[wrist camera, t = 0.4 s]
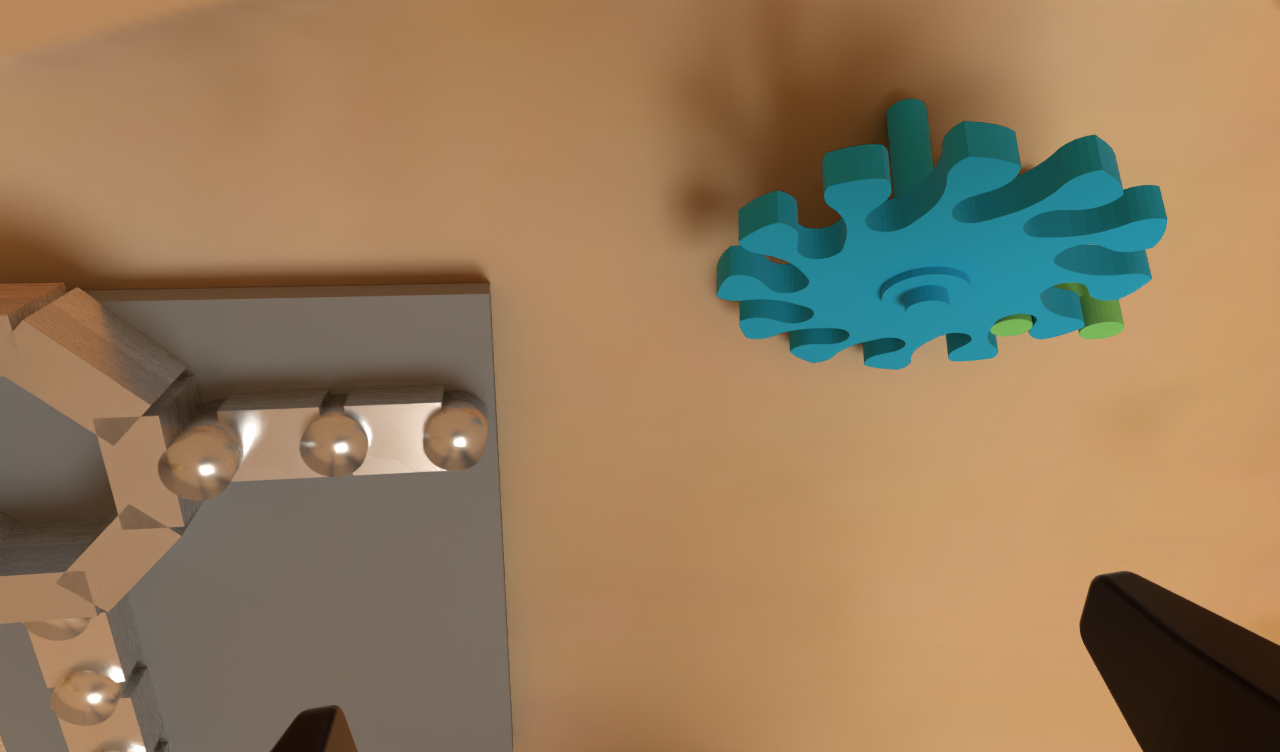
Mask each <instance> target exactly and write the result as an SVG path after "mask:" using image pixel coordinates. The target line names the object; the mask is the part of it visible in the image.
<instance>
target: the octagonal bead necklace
mask: <svg viewBox="0 0 1280 752" xmlns="http://www.w3.org/2000/svg"><path fill="white" fill-rule="evenodd" d="M188 366H189V365H188V364H186V363H185V362H183V361H182V360H180V359H179V358H178V357H176V356H175V355H173V354H172V353H171V352H169V351H168V350H166V349H165V348H163V347H162V346H161V345H159V344H158V343H156V342H155V341H153V340H152V339H151V338H149V337H148V336H146V335H145V334H144V333H142V332H141V331H139V330H138V329H136V328H135V327H134V326H132V325H131V324H129V323H128V322H126V321H125V320H124V319H122V318H121V317H119V316H118V315H117V314H115V313H114V312H112V311H111V310H109V309H108V308H107V307H105V306H104V305H102V304H101V303H99V302H98V301H97V300H95V299H94V298H92V297H91V296H90V295H88V294H87V293H85V292H84V291H82V290H81V289H80V288H78V287H76V288H75V289H73V290H71V291H70V292H68V293H67V292H66V288H65V285H64V283H17V284H0V377H1V376H5V377H6V378H8V379H9V380H11V381H12V382H14V383H16V384H17V385H19V386H20V387H22V388H23V389H25V390H27V391H28V392H30V393H31V394H33V395H34V396H36V397H38V398H39V399H41V400H42V401H44V402H45V403H47V404H49V405H50V406H52V407H53V408H55V409H56V410H58V411H60V412H61V413H63V414H64V415H66V416H67V417H69V418H71V419H72V420H74V421H75V422H77V423H78V424H80V425H82V426H83V427H85V428H86V429H88V430H89V431H91V432H93V433H94V434H96V435H97V438H98V441H99V445H100V449H101V453H102V456H103V460H104V464H105V467H106V471H107V475H108V478H109V482H110V486H111V490H112V493H113V497H114V501H115V504H116V508H117V510H116V511H115V512H114V513H113V514H112V516H111V517H110V518H97V519H80V520H62V521H44V522H26V523H22V522H20V521H18V520H16V519H15V518H13V517H11V516H9V515H8V514H6V513H4V512H2V511H1V510H0V624H5V623H19V622H22V623H23V625H24V626H25V627H26V628H27V630H28V633H29V636H30V639H31V642H32V645H33V648H34V651H35V653H36V656H37V659H38V662H39V665H40V668H41V671H42V674H43V677H44V680H45V683H46V685H47V688H53V687H56V688H55V690H54V691H53V693H52V694H51V697H50V706H51V708H52V710H53V712H54V713H55V714H56V715H57V717H58V720H59V723H60V726H61V729H62V732H63V735H64V738H65V741H66V743H67V746H68V749H69V752H171V750H170V746H169V742H165V743H160V736H161V734H162V732H163V730H164V724H163V721H162V717H161V713H160V710H159V706H158V703H157V699H156V695H155V692H154V688H153V685H152V681H151V677H150V674H149V670H148V667H144V668H138V666H139V662H138V659H139V658H140V656H141V654H142V653H143V649H142V645H141V641H140V638H139V634H138V631H137V627H136V623H135V620H134V616H133V613H132V609H131V605H130V602H129V598H128V594H127V592H128V591H129V590H130V589H131V588H132V587H133V586H134V585H135V584H136V583H137V582H138V581H139V580H140V579H141V578H142V577H143V576H144V575H145V574H146V573H147V572H148V571H149V570H150V569H151V567H152V566H153V565H154V564H155V563H156V562H157V561H158V560H159V559H160V558H161V557H162V556H163V555H164V554H165V553H166V552H167V551H168V550H169V549H170V548H171V547H172V546H173V545H174V544H175V543H176V542H177V541H178V539H179V538H180V537H181V536H182V535H183V533H184V532H185V530H186V529H187V527H188V526H189V524H190V522H191V521H192V519H193V518H194V516H195V515H196V513H197V512H198V510H199V508H200V507H201V505H202V504H203V502H204V501H205V500H209V499H212V498H215V497H217V496H218V495H220V494H221V493H222V492H224V491H225V489H226V488H227V487H228V485H229V483H230V482H236V481H256V480H275V479H295V478H314V477H342V476H346V475H349V474H351V473H353V475H373V474H392V473H411V472H431V471H447V470H448V471H461V470H465V469H468V468H470V467H472V466H474V465H476V464H477V463H478V462H479V461H480V460H481V458H482V457H483V455H484V453H485V450H486V443H487V425H488V412H487V409H486V406H485V404H484V403H483V402H482V400H481V399H480V398H479V397H477V396H476V395H474V394H472V393H470V392H467V391H463V390H452V391H448V392H445V384H424V385H397V386H369V387H352V388H351V391H350V393H349V395H345V394H340V395H334V396H331V397H330V395H329V388H314V389H287V390H259V391H232V392H231V394H230V395H229V396H228V398H227V399H216V400H212V401H209V402H207V403H205V404H204V405H202V403H201V399H200V394H199V389H198V384H197V380H196V375H181V373H182V372H183V371H184V370H185V369H186V368H187V367H188Z"/></svg>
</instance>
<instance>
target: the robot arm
mask: <svg viewBox="0 0 1280 752" xmlns="http://www.w3.org/2000/svg"><path fill="white" fill-rule="evenodd" d="M1080 634H1081V637H1082V640H1083V643H1084V645H1085V647H1086V649H1087V651H1088V652H1089V654H1090V656H1091V658H1092V660H1093V662H1094V663H1095V665H1096V667H1097V669H1098V671H1099V672H1100V674H1101V676H1102V678H1103V680H1104V682H1105V683H1106V685H1107V687H1108V689H1109V691H1110V693H1111V694H1112V696H1113V698H1114V700H1115V702H1116V704H1117V705H1118V707H1119V709H1120V711H1121V713H1122V715H1123V716H1124V718H1125V720H1126V722H1127V724H1128V726H1129V727H1130V729H1131V731H1132V733H1133V735H1134V736H1135V738H1136V740H1137V742H1138V744H1139V745H1140V747H1141V749H1142V750H1143V752H1280V645H1278V644H1276V643H1274V642H1272V641H1270V640H1268V639H1266V638H1264V637H1261V636H1259V635H1257V634H1255V633H1253V632H1251V631H1249V630H1247V629H1245V628H1243V627H1241V626H1239V625H1237V624H1235V623H1233V622H1231V621H1229V620H1227V619H1225V618H1223V617H1221V616H1219V615H1217V614H1215V613H1213V612H1211V611H1209V610H1207V609H1205V608H1203V607H1201V606H1199V605H1197V604H1195V603H1193V602H1191V601H1189V600H1187V599H1185V598H1183V597H1181V596H1179V595H1177V594H1175V593H1173V592H1171V591H1169V590H1167V589H1165V588H1163V587H1161V586H1159V585H1157V584H1155V583H1153V582H1151V581H1149V580H1147V579H1145V578H1143V577H1141V576H1139V575H1137V574H1135V573H1132V572H1128V571H1120V572H1114V573H1108V574H1102V575H1098V576H1096V577H1095V578H1094V579H1093V580H1092V581H1091V584H1090V586H1089V590H1088V594H1087V597H1086V601H1085V604H1084V608H1083V612H1082V615H1081V619H1080ZM270 752H358V751H357V747H356V745H355V742H354V739H353V737H352V734H351V731H350V728H349V726H348V723H347V720H346V717H345V715H344V712H343V710H342V709H341V708H340V707H339V706H337V705H329V706H323V707H317V708H311V709H307V710H304V711H302V712H301V713H299V714H298V715H297V716H296V717H295V719H294V720H293V721H292V723H291V724H290V725H289V727H288V728H287V729H286V731H285V732H284V733H283V735H282V736H281V737H280V739H279V740H278V741H277V743H276V744H275V745H274V747H273V748H272V749H271V751H270Z"/></svg>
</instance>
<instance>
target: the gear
mask: <svg viewBox="0 0 1280 752" xmlns="http://www.w3.org/2000/svg"><path fill="white" fill-rule="evenodd" d="M886 118H887V128H888V139H889V149H890V159H891V170H892V180H893V191H894V199H889V200H887V199H888V197H889V196H890V194H891V191H892V189H891V178H890V168H889V157H888V151H887V149H886V148H885V147H884V146H883V145H882V144H868V145H859V146H853V147H848V148H843V149H839V150H835V151H831V152H827V153H826V154H825V155H824V157H823V160H822V173H823V191H824V199H825V202H826V203H827V204H828V205H829V206H830V207H831V208H833V209H834V210H836V211H837V212H838V213H839V214H840V215H841V219H840V220H839V221H838V222H837V223H835V224H834V225H831V226H829V227H825V228H820V229H812V228H806V227H803V226H801V225H800V224H799V223H798V209H797V202H796V200H795V198H794V197H793V196H791V195H790V194H788V193H785V192H782V191H774V192H770V193H767V194H765V195H763V196H760V197H758V198H756V199H755V200H753V201H751V202H750V203H748V204H747V205H745V206H744V207H742V208H741V209H740V210H738V212H739V243H740V245H741V246H730V247H729V248H728V249H727V250H725V252H724V253H723V254H722V256H721V258H720V260H719V262H718V265H717V297H719V298H721V299H725V300H731V301H739V304H740V328H741V330H742V332H743V334H744V335H745V336H746V337H747V338H750V339H762V338H768V337H772V336H774V335H777V334H780V333H784V332H788V331H789V337H790V352H791V353H792V354H793V355H795V356H797V357H799V358H801V359H803V360H806V361H809V362H812V363H816V362H822V361H825V360H828V359H830V358H832V357H833V356H834V355H835V354H836V353H838V352H840V351H841V350H843V349H845V348H847V347H850V346H853V345H855V344H859V343H863V353H864V365H866V366H870V367H875V368H883V369H897V370H898V369H901V368H904V367H906V366H907V365H909V364H910V362H911V356H912V354H913V352H914V351H915V350H916V349H917V348H918V347H920V346H921V345H923V344H924V343H926V342H928V341H930V340H932V339H934V338H936V337H938V336H941V335H944V334H946V341H947V349H948V358H949V359H950V360H951V361H973V360H982V359H989V358H993V357H995V356H996V355H997V354H998V348H997V341H996V335H997V336H1014V335H1019V334H1022V333H1025V332H1027V331H1028V330H1029V334H1030V336H1032V337H1033V338H1036V339H1046V338H1052V337H1056V336H1060V335H1063V334H1066V333H1070V332H1073V331H1075V330H1078V329H1079V334H1080V336H1081V337H1083V338H1086V339H1101V338H1107V337H1110V336H1114V335H1116V334H1118V333H1120V332H1121V331H1123V329H1124V323H1123V318H1122V313H1121V308H1120V304H1119V299H1120V298H1122V297H1125V296H1127V295H1129V294H1131V293H1132V292H1134V291H1136V290H1137V289H1139V288H1140V287H1142V286H1143V285H1145V284H1146V283H1147V282H1149V281H1150V280H1151V279H1152V276H1151V272H1150V268H1149V263H1148V259H1147V255H1146V250H1145V249H1149V248H1152V247H1154V246H1155V245H1156V244H1157V243H1158V242H1159V241H1160V239H1161V238H1162V236H1163V235H1164V232H1165V229H1166V225H1167V216H1166V212H1165V208H1164V204H1163V200H1162V196H1161V192H1160V188H1159V186H1154V185H1142V186H1136V187H1131V188H1128V189H1124V190H1123V187H1122V183H1121V179H1120V174H1119V170H1118V165H1117V161H1116V156H1115V153H1114V152H1113V150H1112V148H1111V147H1110V146H1109V145H1108V144H1107V143H1106V142H1105V141H1103V140H1102V139H1100V138H1099V137H1098V136H1096V135H1091V136H1085V137H1082V138H1079V139H1076V140H1073V141H1071V142H1069V143H1067V144H1065V145H1064V146H1062V147H1061V148H1059V149H1058V150H1057V151H1056V152H1055V153H1054V154H1053V155H1052V156H1050V157H1049V158H1048V159H1046V160H1045V161H1044V162H1042V163H1041V164H1039V165H1038V166H1036V167H1034V168H1033V169H1031V170H1029V171H1027V172H1025V173H1023V174H1021V175H1019V176H1017V175H1018V173H1019V172H1020V169H1021V163H1020V158H1019V152H1018V146H1017V140H1016V134H1015V131H1013V130H1011V129H1009V128H1007V127H1004V126H1000V125H996V124H990V123H983V122H971V121H963V122H961V123H959V124H958V125H956V126H955V127H953V128H952V129H951V130H950V131H949V132H948V133H947V134H946V135H945V137H944V140H943V146H942V153H941V156H940V160H939V161H938V163H937V165H936V166H935V168H934V166H933V158H932V150H931V141H930V133H929V125H928V116H927V108H926V105H925V104H924V102H922V101H920V100H917V99H905V100H901V101H899V102H897V103H895V104H893V105H892V106H891V107H890V108H889V109H888V111H887V114H886ZM1085 244H1095V245H1085ZM764 255H769V256H773V257H777V258H780V259H782V260H785V261H787V262H789V263H791V264H777V263H773V262H771V261H769V260H768V259H767V258H766V257H765V256H764Z"/></svg>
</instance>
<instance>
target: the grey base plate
mask: <svg viewBox="0 0 1280 752" xmlns="http://www.w3.org/2000/svg"><path fill="white" fill-rule="evenodd" d="M82 291H84V292H85V293H87V294H88V295H90V296H91V297H92V298H94V299H95V300H97V301H98V302H99V303H101V304H102V305H104V306H105V307H107V308H108V309H109V310H111V311H112V312H114V313H115V314H117V315H118V316H119V317H121V318H122V319H124V320H125V321H126V322H128V323H129V324H131V325H132V326H134V327H135V328H136V329H138V330H139V331H141V332H142V333H144V334H145V335H146V336H148V337H149V338H151V339H152V340H153V341H155V342H156V343H158V344H159V345H161V346H162V347H163V348H165V349H166V350H168V351H169V352H171V353H172V354H173V355H175V356H176V357H178V358H179V359H180V360H182V361H183V362H185V363H186V364H188V365H189V366H188V367H187V368H186V369H185V370H184V371H183V372H182V373H181V375H196V380H197V384H198V389H199V394H200V399H201V403H202V405H204V404H205V403H207V402H209V401H212V400H216V399H227V398H228V396H229V395H230V394H231V392H232V391H259V390H287V389H314V388H329V395H330V397H331V396H334V395H340V394H345V395H349V393H350V391H351V388H352V387H369V386H397V385H424V384H445V392H448V391H452V390H463V391H467V392H470V393H472V394H474V395H476V396H477V397H479V398H480V399H481V400H482V402H483V403H484V404H485V406H486V409H487V412H488V425H487V443H486V450H485V453H484V455H483V457H482V458H481V460H480V461H479V462H478V463H477V464H476V465H474V466H472V467H470V468H468V469H465V470H461V471H448V470H447V471H431V472H411V473H392V474H373V475H353V473H351V474H349V475H346V476H342V477H314V478H295V479H275V480H256V481H236V482H230V483H229V485H228V487H227V488H226V489H225V491H224V492H222V493H221V494H220V495H218V496H217V497H215V498H212V499H209V500H205V501H204V502H203V504H202V505H201V507H200V508H199V510H198V512H197V513H196V515H195V516H194V518H193V519H192V521H191V522H190V524H189V526H188V527H187V529H186V530H185V532H184V533H183V535H182V536H181V537H180V538H179V539H178V541H177V542H176V543H175V544H174V545H173V546H172V547H171V548H170V549H169V550H168V551H167V552H166V553H165V554H164V555H163V556H162V557H161V558H160V559H159V560H158V561H157V562H156V563H155V564H154V565H153V566H152V567H151V569H150V570H149V571H148V572H147V573H146V574H145V575H144V576H143V577H142V578H141V579H140V580H139V581H138V582H137V583H136V584H135V585H134V586H133V587H132V588H131V589H130V590H129V591H128V592H127V594H128V598H129V602H130V605H131V609H132V613H133V616H134V620H135V623H136V627H137V631H138V634H139V638H140V641H141V645H142V649H143V653H142V654H141V656H140V658H139V659H138V662H139V666H138V668H144V667H148V670H149V674H150V677H151V681H152V685H153V688H154V692H155V695H156V699H157V703H158V706H159V710H160V713H161V717H162V721H163V724H164V730H163V732H162V734H161V736H160V743H165V742H169V746H170V750H171V752H270V751H271V749H272V748H273V747H274V745H275V744H276V743H277V741H278V740H279V739H280V737H281V736H282V735H283V733H284V732H285V731H286V729H287V728H288V727H289V725H290V724H291V723H292V721H293V720H294V719H295V717H296V716H297V715H298V714H299V713H301V712H302V711H304V710H307V709H311V708H317V707H323V706H329V705H337V706H339V707H340V708H341V709H342V710H343V712H344V715H345V717H346V720H347V723H348V726H349V728H350V731H351V734H352V737H353V739H354V742H355V745H356V747H357V751H358V752H513V730H512V711H511V691H510V671H509V651H508V632H507V612H506V592H505V572H504V552H503V533H502V513H501V493H500V473H499V454H498V434H497V414H496V394H495V375H494V355H493V335H492V315H491V295H490V283H452V284H399V285H346V286H293V287H239V288H186V289H133V290H82ZM66 292H67V293H68V292H70V291H66ZM0 510H1V511H2V512H4V513H6V514H8V515H9V516H11V517H13V518H15V519H16V520H18V521H20V522H22V523H26V522H44V521H62V520H80V519H97V518H110V517H111V516H112V514H113V513H114V512H115V511H116V510H117V508H116V504H115V501H114V497H113V493H112V490H111V486H110V482H109V478H108V475H107V471H106V467H105V464H104V460H103V456H102V453H101V449H100V445H99V441H98V438H97V435H96V434H94V433H93V432H91V431H89V430H88V429H86V428H85V427H83V426H82V425H80V424H78V423H77V422H75V421H74V420H72V419H71V418H69V417H67V416H66V415H64V414H63V413H61V412H60V411H58V410H56V409H55V408H53V407H52V406H50V405H49V404H47V403H45V402H44V401H42V400H41V399H39V398H38V397H36V396H34V395H33V394H31V393H30V392H28V391H27V390H25V389H23V388H22V387H20V386H19V385H17V384H16V383H14V382H12V381H11V380H9V379H8V378H6V377H5V376H1V377H0ZM55 688H56V687H53V688H47V685H46V683H45V680H44V677H43V674H42V671H41V668H40V665H39V662H38V659H37V656H36V653H35V651H34V648H33V645H32V642H31V639H30V636H29V633H28V630H27V628H26V627H25V626H24V625H23V623H22V622H19V623H5V624H0V735H1V738H2V741H3V743H4V746H5V748H6V751H7V752H69V749H68V746H67V743H66V741H65V738H64V735H63V732H62V729H61V726H60V723H59V720H58V717H57V715H56V714H55V713H54V712H53V710H52V708H51V706H50V697H51V694H52V693H53V691H54V690H55Z"/></svg>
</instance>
